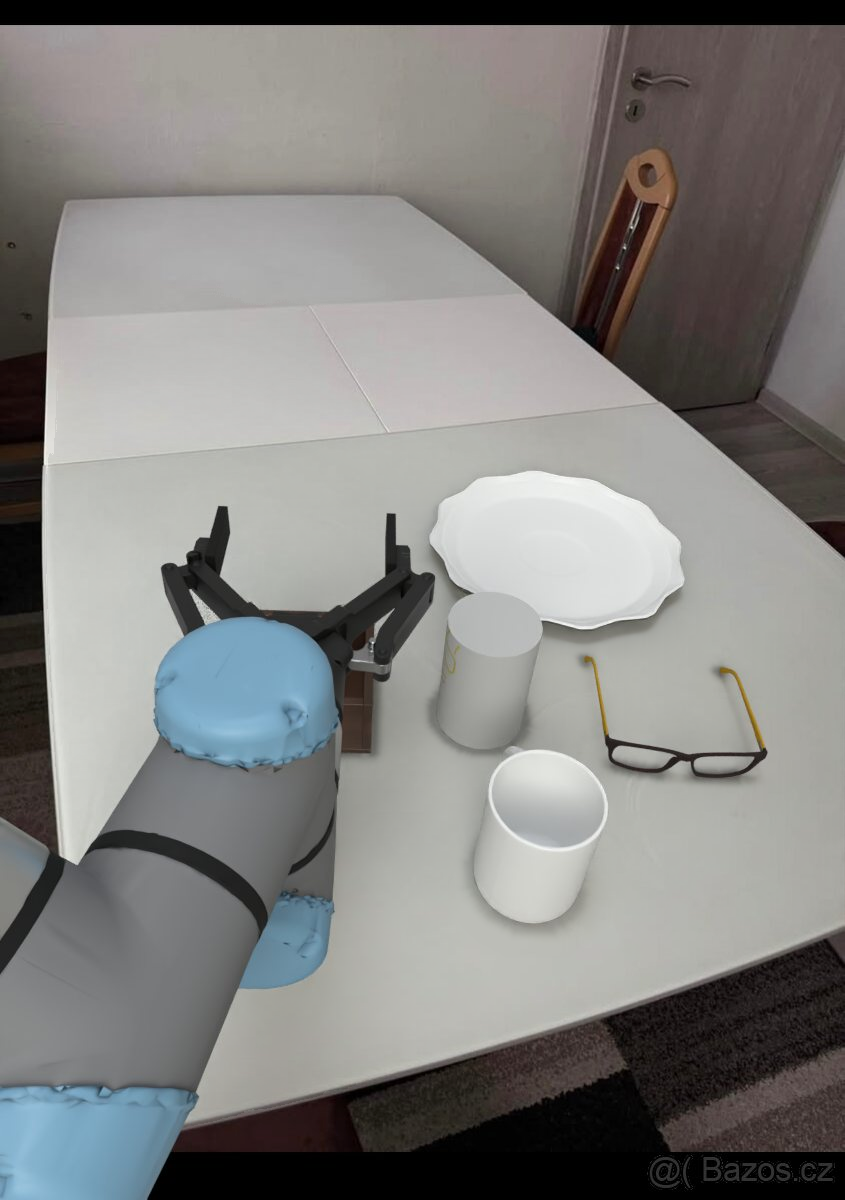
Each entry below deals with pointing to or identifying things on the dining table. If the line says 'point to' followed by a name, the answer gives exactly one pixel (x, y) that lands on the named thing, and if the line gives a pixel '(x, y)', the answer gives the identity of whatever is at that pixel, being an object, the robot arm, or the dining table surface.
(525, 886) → the mug
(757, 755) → the eyeglasses
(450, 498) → the plate
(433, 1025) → the dining table surface
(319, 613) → the open square wooden box
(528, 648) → the cup
